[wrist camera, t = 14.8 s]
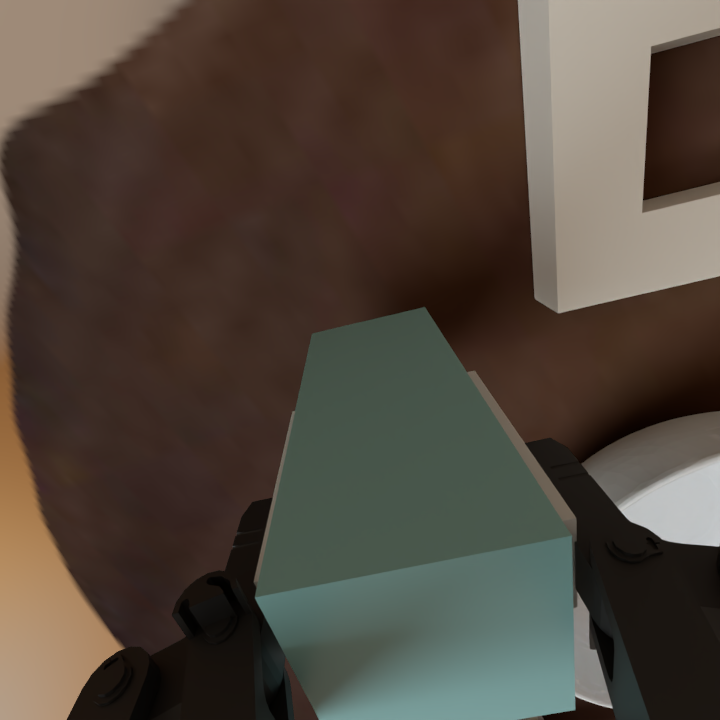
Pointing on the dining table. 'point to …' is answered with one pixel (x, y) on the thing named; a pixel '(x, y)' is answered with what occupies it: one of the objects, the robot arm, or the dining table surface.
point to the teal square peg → (413, 541)
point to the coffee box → (533, 718)
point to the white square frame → (607, 152)
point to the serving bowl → (655, 505)
